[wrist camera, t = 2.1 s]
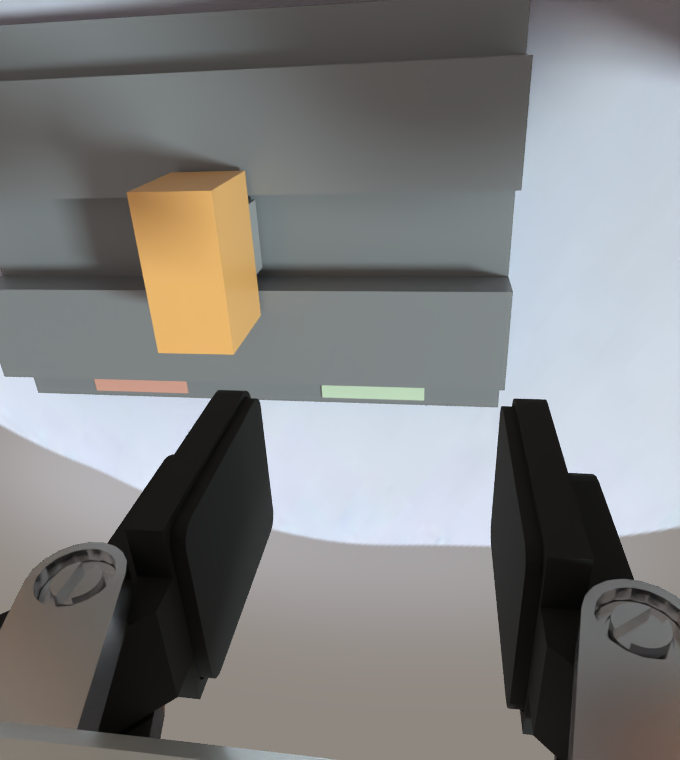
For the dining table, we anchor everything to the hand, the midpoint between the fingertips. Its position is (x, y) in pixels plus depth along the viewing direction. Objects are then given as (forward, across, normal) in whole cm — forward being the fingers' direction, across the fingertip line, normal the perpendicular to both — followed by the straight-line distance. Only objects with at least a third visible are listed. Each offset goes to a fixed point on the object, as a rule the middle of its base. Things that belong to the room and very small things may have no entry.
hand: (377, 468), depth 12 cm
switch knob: (+17, +8, 0) cm, 19 cm away
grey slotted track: (+19, +8, 0) cm, 21 cm away
